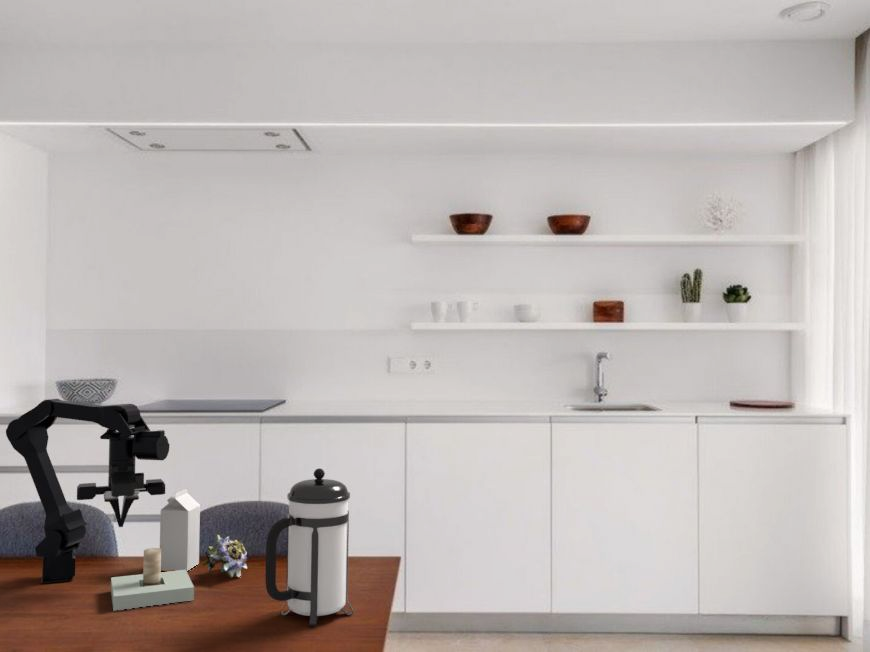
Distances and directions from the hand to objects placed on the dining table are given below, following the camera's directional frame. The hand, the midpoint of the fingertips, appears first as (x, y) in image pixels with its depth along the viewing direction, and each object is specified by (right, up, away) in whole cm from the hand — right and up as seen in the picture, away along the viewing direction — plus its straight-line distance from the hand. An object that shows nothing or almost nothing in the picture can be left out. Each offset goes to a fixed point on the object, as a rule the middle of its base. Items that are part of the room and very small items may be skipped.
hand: (120, 526), depth 177 cm
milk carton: (+10, -14, +12) cm, 20 cm away
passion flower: (+22, -14, +7) cm, 27 cm away
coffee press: (+48, -13, -20) cm, 53 cm away
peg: (+10, -13, -9) cm, 19 cm away
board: (+10, -13, -9) cm, 19 cm away
